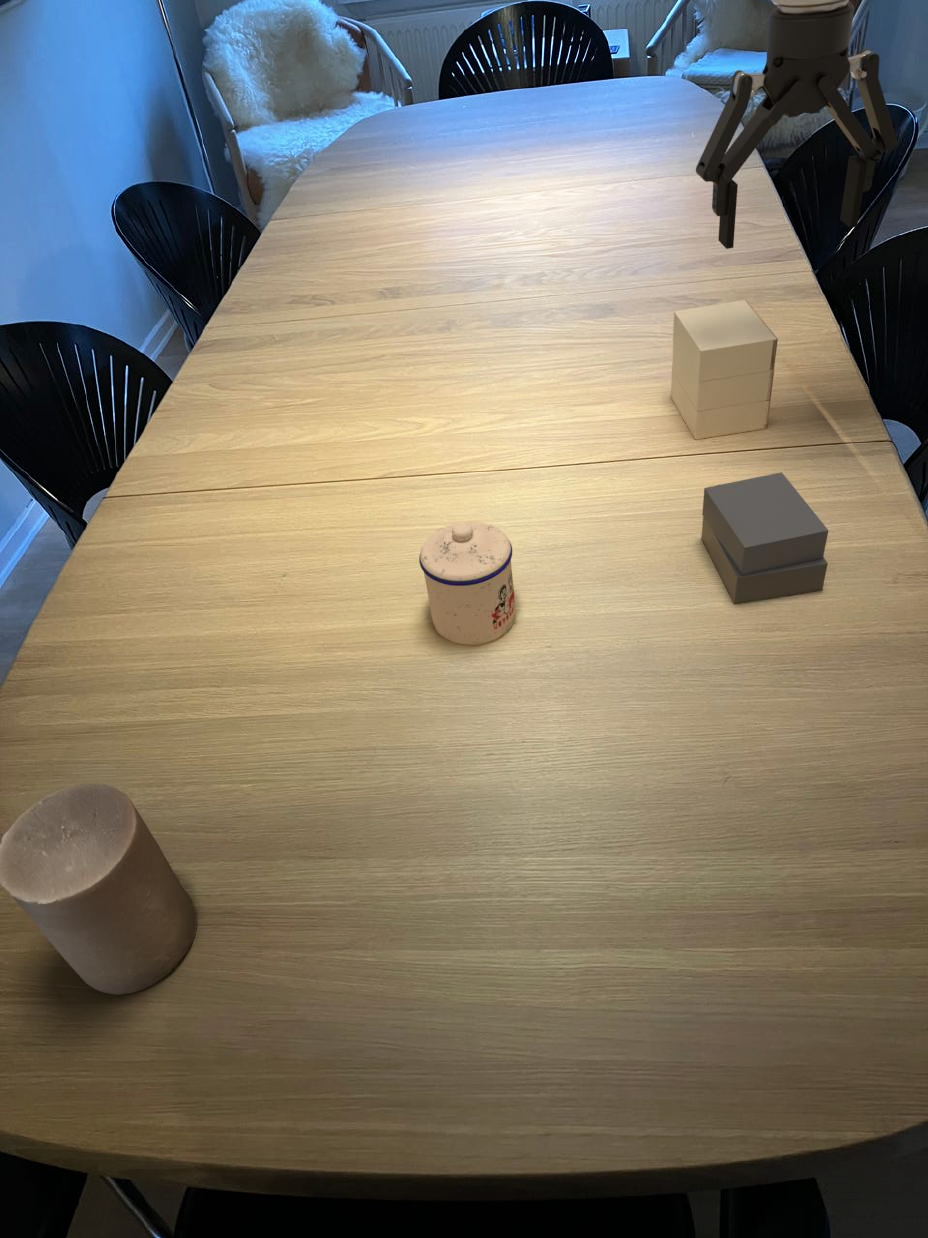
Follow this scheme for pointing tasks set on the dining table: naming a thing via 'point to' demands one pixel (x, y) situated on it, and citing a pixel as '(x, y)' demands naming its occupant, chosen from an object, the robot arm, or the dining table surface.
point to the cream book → (724, 340)
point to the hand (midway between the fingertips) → (787, 233)
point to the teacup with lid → (469, 582)
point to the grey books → (763, 538)
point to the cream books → (720, 400)
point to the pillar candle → (98, 887)
